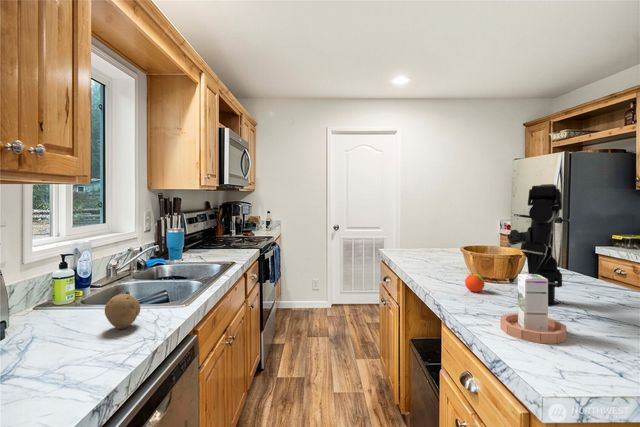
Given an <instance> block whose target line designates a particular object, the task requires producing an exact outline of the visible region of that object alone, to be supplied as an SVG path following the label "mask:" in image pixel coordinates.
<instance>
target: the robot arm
mask: <svg viewBox="0 0 640 427" xmlns="http://www.w3.org/2000/svg"><path fill="white" fill-rule="evenodd" d="M527 206H529V207H530V206H531V207H530V209H529V210H528V216H529V218H530V219H531V221H530V226H529V227H527V231H521V232H519V230H517V229H511V230H510V232H509V233H507V238H506V239H507V240H508V243H509V245H512V246H513V245H517V244H521V245H520V250H521V253H522V254H523V255H524V256H525V257H526V261H527V263H526V264H527V271H528V272H527V274H537V275H540V276H542V277H544V278H546V279H548V307H549V306H553V305H557V304H560V301H558V300H556V299H555V298H556V288H558V289H559V288H562V287H563V273H562V272H561V271H560V269H558V262H557V260H556V259H555V258H554V256H553V254H554V233H555V221H556V220H557V219H558V218H560V213H561V211H562V210H563V194H562V192H561V190H560V189H559V188H557V184H553V183H551V184H550V183H547V184H540V185H532V186H531V189H529V190H528V199H527Z"/></svg>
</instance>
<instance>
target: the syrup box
mask: <svg viewBox="0 0 640 427" xmlns="http://www.w3.org/2000/svg"><path fill="white" fill-rule="evenodd" d="M517 313H518V324H519V325H520V326H521V327H522V328H523V329H527V330H533V331H538V332H548V318H549V306H548V279H546V278H544V277H542V276H540V275H537V274H528V273H520V274H519V273H518V274H517Z"/></svg>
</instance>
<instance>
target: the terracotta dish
mask: <svg viewBox="0 0 640 427" xmlns="http://www.w3.org/2000/svg"><path fill="white" fill-rule="evenodd" d="M500 329H501V331H503V332H504V333H505V334H506V335H509V336H511V337H513V338H517V339H519V340H522V341H526V342H532V343H537V344H551V345H552V344H561V343H564V342H566V341H567V334H568V331H567V330H568V329H567V325H565V324H564V323H562V322H561V321H558V320H556V319H553V318H550V317H548V332H538V331H533V330H527V329H523V328H522V327H521V326H520V325H519V324H518V312H511V313H507V314H503V315H501V318H500ZM563 341H564V342H563ZM560 342H561V343H560Z"/></svg>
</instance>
